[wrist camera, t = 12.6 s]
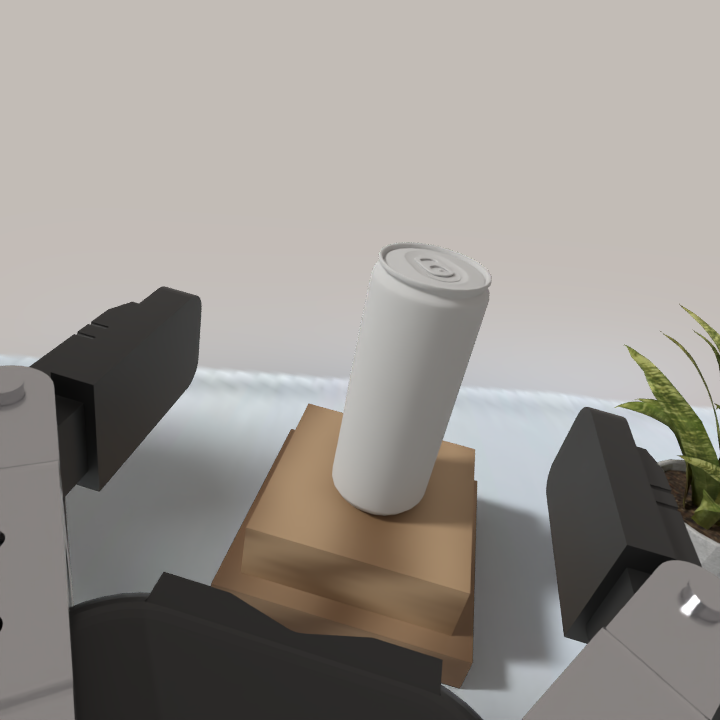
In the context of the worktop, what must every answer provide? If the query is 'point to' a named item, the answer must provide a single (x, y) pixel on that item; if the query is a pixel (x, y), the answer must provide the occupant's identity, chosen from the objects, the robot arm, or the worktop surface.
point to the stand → (360, 552)
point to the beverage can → (407, 373)
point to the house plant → (688, 455)
